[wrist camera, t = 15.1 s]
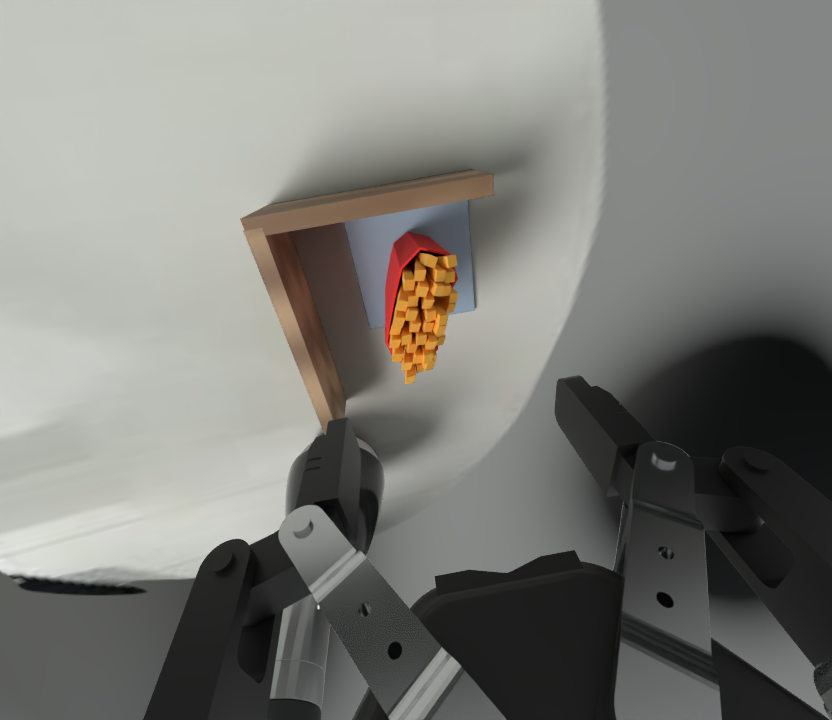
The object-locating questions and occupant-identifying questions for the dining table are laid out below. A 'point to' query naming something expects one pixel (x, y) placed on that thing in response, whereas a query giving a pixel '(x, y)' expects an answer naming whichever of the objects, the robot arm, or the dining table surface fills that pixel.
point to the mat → (380, 232)
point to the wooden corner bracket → (288, 280)
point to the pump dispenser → (367, 498)
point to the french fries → (418, 301)
